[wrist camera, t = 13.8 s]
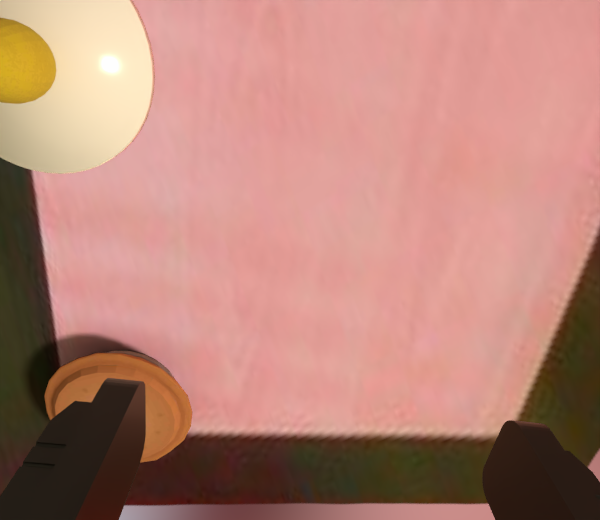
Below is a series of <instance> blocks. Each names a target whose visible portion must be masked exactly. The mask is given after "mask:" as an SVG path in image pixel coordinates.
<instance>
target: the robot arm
mask: <svg viewBox="0 0 600 520" xmlns="http://www.w3.org/2000/svg"><path fill="white" fill-rule="evenodd" d="M145 437H146V395H145V383H144V382H143V381H135V380H125V379H115V378H107V379H106V380H105V381H104V382H103V383H102V385H101V387H100V389H99V390H98V392H97V394H96V395H95V397H94V399H93V401H92V402H82V401H74V402H73V403H71V404H70V405H69V406H68V407H66V408H65V409H64V410H63V411H61V412H60V413H59V414H57V415H56V416H55V417H54V418H52V419H51V421H50V422H49V424H48V425H47V427H46V428H45V430H44V431H43V433H42V434H41V436H40V437H39V439H38V440H37V442H36V446H35V447H33V448H32V449H31V451H30V452H29V454H28V455H27V457H26V458H25V460H24V461H23V465H22V467H19V469H18V470H17V472H16V473H15V475H14V476H13V478H12V479H11V481H10V482H9V484H8V485H7V487H6V488H5V490H4V491H3V493H2V494H1V496H0V520H119V517H120V515H121V512H122V509H123V507H124V504H125V501H126V499H127V496H128V493H129V491H130V488H131V486H132V483H133V480H134V478H135V475H136V472H137V470H138V467H139V464H140V461H141V458H142V454H143V450H144V444H145ZM482 479H483V489H484V493H485V496H486V499H487V501H488V504H489V506H490V508H491V510H492V513H493V515H494V517H495V520H600V482H599V481H598V479H597V478H596V476H595V475H594V474H593V472H592V471H591V470H589V469H588V468H587V467H586V466H585V465H584V464H583V463H582V462H581V461H580V460H578V459H577V458H576V457H575V456H574V455H573V454H572V453H571V452H570V451H565V450H564V449H563V448H562V446H561V445H560V443H559V442H558V440H557V439H556V437H555V436H554V434H553V433H552V431H551V430H550V429H549V428H548V427H547V426H546V425H544V424H540V423H530V422H521V421H507V422H505V423H504V425H503V426H502V428H501V431H500V433H499V435H498V437H497V439H496V442H495V444H494V446H493V448H492V450H491V453H490V455H489V457H488V459H487V461H486V464H485V466H484V469H483V478H482Z"/></svg>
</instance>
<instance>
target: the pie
mask: <svg viewBox="0 0 600 520" xmlns="http://www.w3.org/2000/svg"><path fill="white" fill-rule="evenodd" d="M107 378H115V379H125V380H135V381H143V382H144V383H145V395H146V437H145V444H144V450H143V454H142V458H141V461H140V462H146V461H153V460H157V459H159V458H160V457H162V456H164V455H165V454H167V453H168V452H170V451H171V450H173V449H174V448H175V447H176V446H177V445H179V444H180V443H181V442H182V441H183V440H184V439H185V437H186V435H187V433H188V431H189V429H190V427H191V419H192V409H191V406H190V402H189V399H188V395H187V394H186V393H185V392H184V390H183V389H182V388H181V386H180V385H179V384H178V382H177V381H176V380H175V379H174V377H173V376H172V374H171V373H170V371H169V370H168V369H167V368H166V367H164V366H163V365H162V364H161V363H160V362H158V361H157V360H155V359H153V358H151V357H149V356H147V355H145V354H141V353H137V352H133V351H116V350H114V351H110V352H106V353H95V354H91V355H88V356H84V357H81V358H77V359H75V360H73V361H71V362H69V363H68V364H66V365H64V366H62V367H60V368H59V369H58V370H57V371H56V373H55V374H54V375H53V376H52V377H51V379H50V380H49V382H48V385H47V389H46V392H45V395H44V397H45V403H46V409H47V413H48V416H49V418H50V420H51V419H52V418H54V417H55V416H56V415H57V414H59V413H60V412H61V411H63V410H64V409H65V408H66V407H68V406H69V405H70V404H71V403H73V402H74V401H82V402H92V401H93V399H94V397H95V395H96V394H97V392H98V390H99V389H100V387H101V385H102V383H103V382H104V381H105V380H106V379H107Z"/></svg>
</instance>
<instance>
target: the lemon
mask: <svg viewBox="0 0 600 520" xmlns="http://www.w3.org/2000/svg"><path fill="white" fill-rule="evenodd" d="M55 76H56V62H55V59H54V56H53V53H52V51H51V49H50V47H49V46H48V44H47V43H46V42H45V41H44V39H43V38H42V37H41V36H40V35H39V34H38V33H36V32H35V31H34V30H32V29H31V28H30V27H28V26H26V25H24V24H22V23H19V22H17V21H15V20H10V19H6V18H0V102H2V103H12V104H21V103H26V102H31V101H34V100H36V99H38V98H40V97H41V96H43V95H45V94H46V92H47V91H48V90H49V89H50V88H51V87H52V84H53V82H54V80H55Z"/></svg>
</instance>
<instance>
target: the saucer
mask: <svg viewBox="0 0 600 520" xmlns="http://www.w3.org/2000/svg"><path fill="white" fill-rule="evenodd" d="M0 18H6V19H10V20H15V21H17V22H19V23H22V24H24V25H26V26H28V27H30V28H31V29H32V30H34V31H35V32H36V33H38V34H39V35H40V36H41V37H42V38H43V39H44V41H45V42H46V43H47V44H48V46H49V47H50V49H51V51H52V53H53V56H54V59H55V62H56V76H55V80H54V82H53V84H52V87H51V88H50V89H49V90H48V91H47V92H46V94H45V95H43V96H41V97H40V98H38V99H36V100H34V101H31V102H26V103H21V104H12V103H2V102H0V157H1V158H3V159H4V160H7V161H9V162H11V163H14V164H16V165H18V166H21V167H24V168H28V169H31V170H35V171H40V172H45V173H58V174H63V173H75V172H80V171H85V170H89V169H91V168H94V167H97V166H99V165H101V164H103V163H105V162H107V161H109V160H111V159H112V158H114V157H116V156H117V155H118V154H120V153H121V152H122V151H124V150H125V149H126V148H127V147H128V146H129V145H130V144H131V143H132V142H133V141H134V139H135V138H136V136H137V135H138V134H139V132H140V131H141V129H142V127H143V125H144V123H145V121H146V119H147V116H148V113H149V110H150V107H151V104H152V99H153V93H154V80H155V73H154V60H153V55H152V49H151V44H150V41H149V38H148V34H147V31H146V28H145V26H144V23H143V21H142V19H141V16H140V14H139V12H138V10H137V8H136V7H135V5H134V3H133V1H132V0H0Z"/></svg>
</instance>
